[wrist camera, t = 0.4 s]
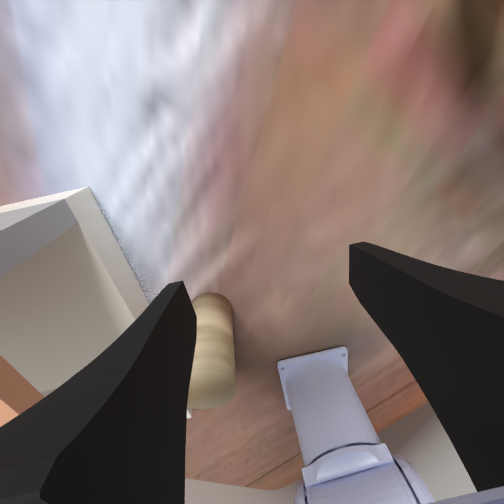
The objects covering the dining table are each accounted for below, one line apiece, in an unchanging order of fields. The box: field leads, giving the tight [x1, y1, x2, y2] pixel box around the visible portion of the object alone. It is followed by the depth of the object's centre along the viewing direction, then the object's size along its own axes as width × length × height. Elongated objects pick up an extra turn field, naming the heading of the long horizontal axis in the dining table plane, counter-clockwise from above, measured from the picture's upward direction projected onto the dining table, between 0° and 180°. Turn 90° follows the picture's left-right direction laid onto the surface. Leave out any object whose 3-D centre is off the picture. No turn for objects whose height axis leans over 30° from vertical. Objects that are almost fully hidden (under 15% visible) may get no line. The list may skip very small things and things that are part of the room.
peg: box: [187, 293, 236, 409], centre depth 20 cm, size 4×4×8 cm
